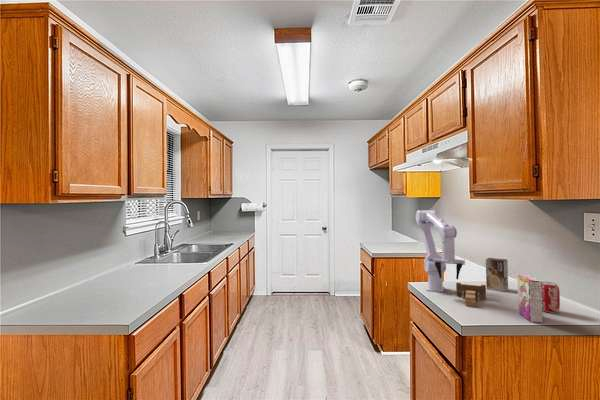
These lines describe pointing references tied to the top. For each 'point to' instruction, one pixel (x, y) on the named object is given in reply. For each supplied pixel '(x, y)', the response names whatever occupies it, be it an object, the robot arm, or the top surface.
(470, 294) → the tan wooden bar
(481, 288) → the wooden base
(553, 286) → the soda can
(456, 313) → the top surface
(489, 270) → the coffee box
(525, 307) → the candy bar box
